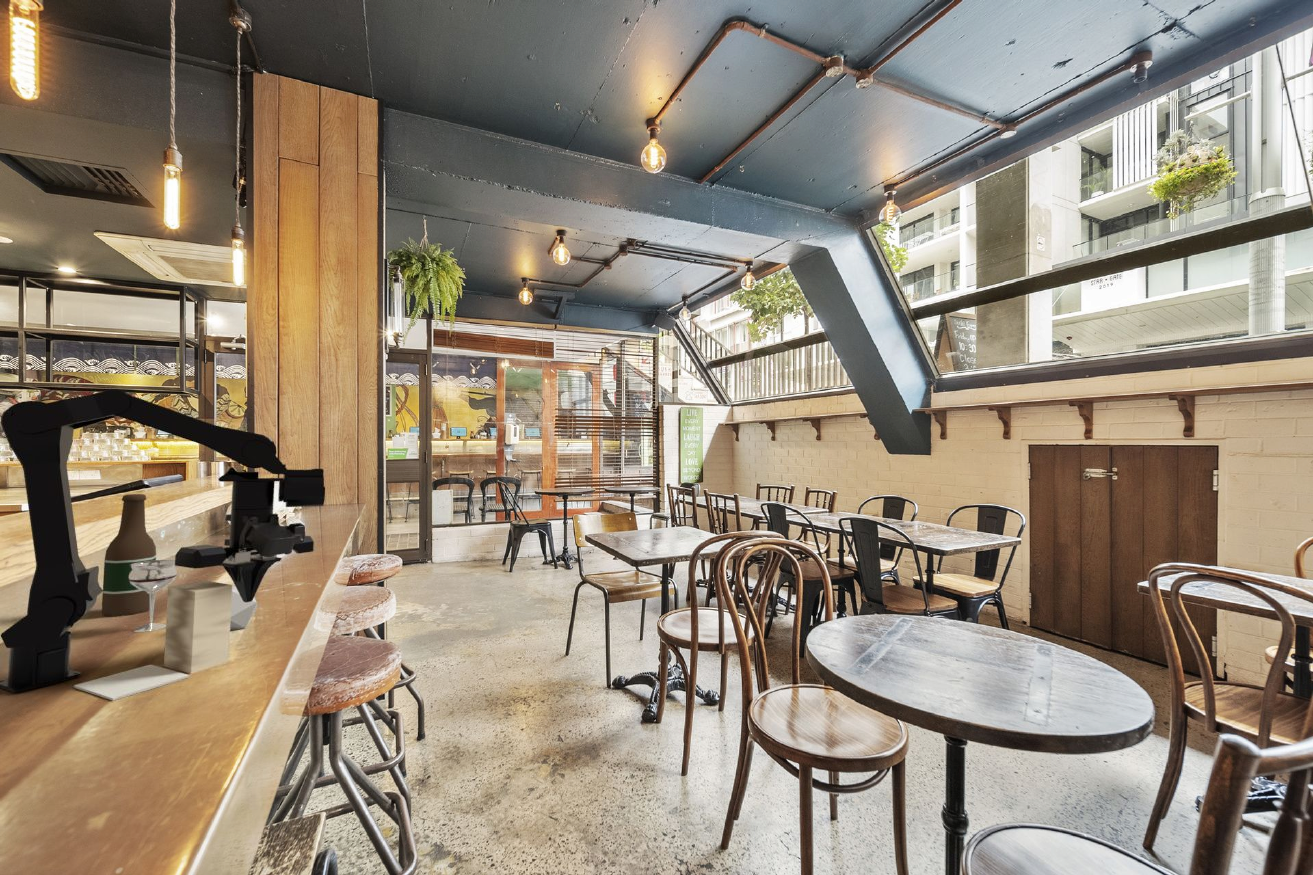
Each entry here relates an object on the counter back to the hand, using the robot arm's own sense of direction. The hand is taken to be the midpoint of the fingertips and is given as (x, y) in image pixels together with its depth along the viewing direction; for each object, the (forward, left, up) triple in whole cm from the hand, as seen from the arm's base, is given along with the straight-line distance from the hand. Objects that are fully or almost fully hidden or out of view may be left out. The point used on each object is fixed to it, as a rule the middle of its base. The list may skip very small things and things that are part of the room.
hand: (247, 601), depth 91 cm
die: (-15, +6, -8) cm, 18 cm away
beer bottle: (-45, +4, -8) cm, 46 cm away
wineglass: (-28, 0, -8) cm, 29 cm away
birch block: (0, -7, -8) cm, 11 cm away
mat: (0, -15, -8) cm, 17 cm away
